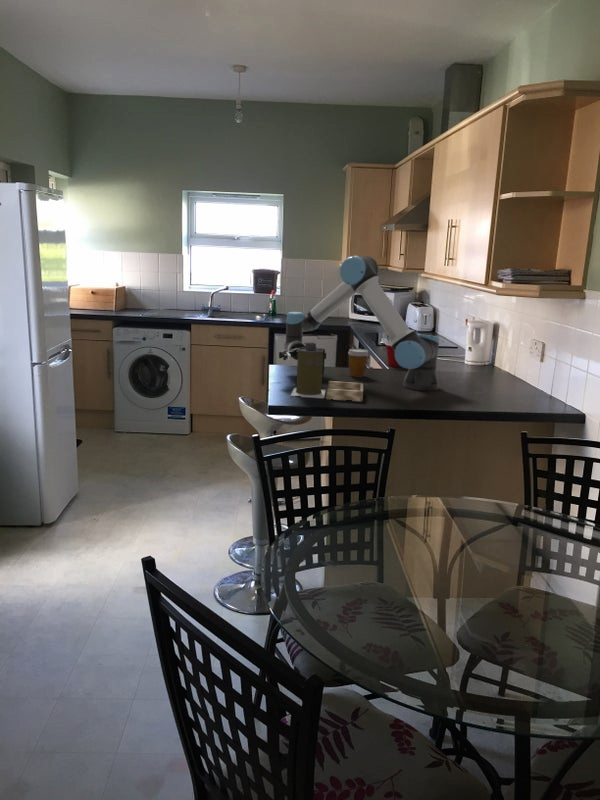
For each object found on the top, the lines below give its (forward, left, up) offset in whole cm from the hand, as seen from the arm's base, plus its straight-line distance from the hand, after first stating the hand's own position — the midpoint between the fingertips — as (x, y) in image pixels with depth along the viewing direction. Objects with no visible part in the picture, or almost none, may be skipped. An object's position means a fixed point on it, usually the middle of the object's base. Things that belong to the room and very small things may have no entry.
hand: (306, 358), depth 268 cm
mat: (-2, +9, -13) cm, 15 cm away
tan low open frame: (-16, +9, -13) cm, 22 cm away
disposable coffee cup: (-21, -35, -13) cm, 43 cm away
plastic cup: (-40, -69, -13) cm, 81 cm away
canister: (-3, +9, -12) cm, 15 cm away
